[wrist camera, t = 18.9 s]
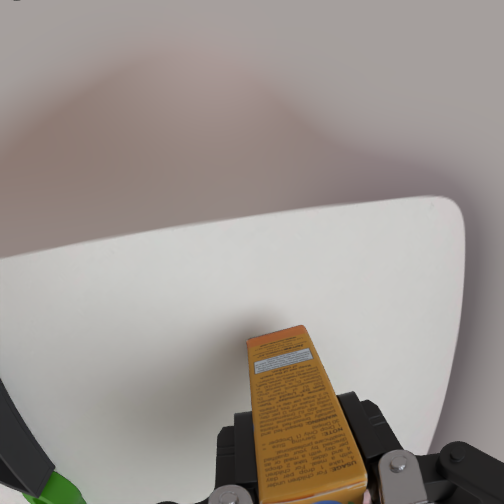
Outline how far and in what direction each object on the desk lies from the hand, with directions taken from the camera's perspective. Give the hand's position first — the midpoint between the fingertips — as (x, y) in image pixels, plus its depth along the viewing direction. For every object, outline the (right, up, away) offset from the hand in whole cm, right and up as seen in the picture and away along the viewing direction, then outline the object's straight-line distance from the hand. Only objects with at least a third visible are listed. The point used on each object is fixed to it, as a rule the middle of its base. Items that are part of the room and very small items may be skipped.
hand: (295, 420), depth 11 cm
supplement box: (0, +1, +5) cm, 5 cm away
